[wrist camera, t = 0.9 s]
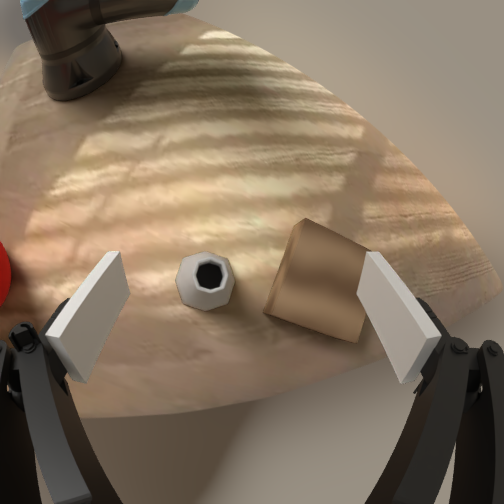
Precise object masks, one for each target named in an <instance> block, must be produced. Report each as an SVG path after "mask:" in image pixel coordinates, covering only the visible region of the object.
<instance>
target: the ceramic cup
mask: <svg viewBox="0 0 504 504" xmlns="http://www.w3.org/2000/svg"><path fill="white" fill-rule="evenodd" d="M10 284H11V268H10V263H9V259H8V256H7V253H6V250H5V248H4V247H3V245H2V243H1V242H0V307H1V306H2V304H3V303H4V301H5V299H6V297H7V294H8V291H9V288H10Z"/></svg>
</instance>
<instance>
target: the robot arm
mask: <svg viewBox="0 0 504 504" xmlns="http://www.w3.org/2000/svg"><path fill="white" fill-rule="evenodd" d="M198 1H199V0H21V1H20V4H21V8H22V13H23V19H24V20H25V22H26V24H27V27H28V29H29V31H30V34H31V36H32V39H33V41H34V43H35V45H36V48H37V50H38V52H39V54H40V56H41V59H42V74H43V85H44V88H45V90H46V92H47V93H48V95H49V96H50V97H51V98H53V99H55V100H71V99H75V98H78V97H81V96H83V95H86V94H88V93H90V92H92V91H93V90H95V89H97V88H98V87H100V86H101V85H103V84H104V83H105V82H106V81H108V80H109V79H110V78H111V77H112V76H113V75H114V73H115V72H116V71H117V69H118V68H119V66H120V63H121V59H122V56H121V51H120V47H119V44H118V43H117V41H116V40H115V39H114V37H113V36H112V35H111V33H110V32H109V31H108V29H107V28H106V26H105V24H107V23H112V22H117V21H123V20H129V19H136V18H144V17H153V16H167V15H169V14H178V13H185V12H188V11H190V10H192V9H193V8H194V7H195V6H196V5H197V3H198ZM129 295H130V291H129V287H128V283H127V279H126V275H125V271H124V267H123V263H122V259H121V254H120V251H108V252H107V253H106V254H105V256H104V257H103V258H102V259H101V260H100V262H99V263H98V264H97V265H96V266H95V268H94V269H93V270H92V271H91V273H90V274H89V275H88V276H87V278H86V279H85V280H84V281H83V283H82V284H81V285H80V287H79V288H78V289H77V291H76V292H75V293H74V295H73V296H72V297H71V298H67V299H66V300H65V301H64V302H62V303H61V304H60V305H59V306H58V308H57V309H56V311H55V313H53V315H52V316H51V318H50V319H49V320H48V322H47V323H46V325H45V326H44V327H43V329H42V330H41V332H40V333H39V335H38V334H37V332H36V331H35V329H34V327H33V325H32V324H31V323H30V322H22V323H19V324H17V325H16V326H15V327H14V328H12V330H11V331H10V333H9V339H10V341H11V342H12V344H13V346H14V347H15V348H11V349H9V347H8V345H7V344H6V342H5V341H3V340H0V504H42V502H41V497H40V491H39V486H38V480H37V472H36V463H35V453H36V456H37V460H38V463H39V466H40V469H41V472H42V475H43V477H44V480H45V482H46V485H47V488H48V490H49V493H50V495H51V497H52V500H53V502H54V504H123V503H122V502H121V500H120V498H119V497H118V495H117V493H116V492H115V490H114V488H113V487H112V485H111V483H110V481H109V480H108V478H107V476H106V474H105V472H104V470H103V469H102V467H101V465H100V463H99V461H98V459H97V457H96V455H95V453H94V451H93V449H92V447H91V444H90V442H89V440H88V437H87V435H86V433H85V430H84V428H83V426H82V423H81V421H80V418H79V415H78V413H77V410H76V407H75V404H74V402H73V399H72V396H71V393H70V390H69V386H68V383H67V381H66V380H65V378H64V377H65V375H66V373H67V372H68V374H69V375H70V377H71V378H72V380H74V381H78V382H82V383H87V381H88V379H89V376H90V374H91V372H92V370H93V367H94V365H95V363H96V361H97V359H98V356H99V354H100V352H101V350H102V348H103V346H104V344H105V342H106V340H107V337H108V335H109V333H110V331H111V329H112V327H113V325H114V323H115V321H116V319H117V318H118V316H119V314H120V312H121V310H122V308H123V306H124V304H125V302H126V300H127V299H128V297H129ZM357 296H358V297H359V299H360V301H361V303H362V305H363V307H364V309H365V311H366V313H367V315H368V317H369V319H370V321H371V323H372V325H373V327H374V329H375V331H376V333H377V335H378V337H379V339H380V341H381V343H382V345H383V347H384V349H385V351H386V353H387V356H388V358H389V360H390V362H391V364H392V366H393V368H394V371H395V373H396V375H397V377H398V380H399V382H400V384H404V383H407V382H411V381H415V379H416V378H417V376H418V375H419V373H420V372H421V374H422V376H423V379H422V381H421V382H420V384H419V385H418V387H417V388H416V389H415V391H414V392H413V393H414V394H415V393H416V392H417V394H416V397H415V400H414V403H413V406H412V408H411V411H410V414H409V416H408V419H407V421H406V424H405V426H404V429H403V431H402V434H401V436H400V438H399V440H398V442H397V445H396V447H395V449H394V451H393V453H392V455H391V457H390V460H389V461H388V463H387V465H386V467H385V469H384V471H383V473H382V475H381V477H380V478H379V480H378V482H377V484H376V486H375V487H374V489H373V491H372V492H371V494H370V496H369V497H368V499H367V500H366V502H365V504H434V502H435V500H436V497H437V495H438V493H439V490H440V488H441V485H442V482H443V480H444V477H445V474H446V471H447V468H448V465H449V462H450V459H451V456H452V453H453V449H454V446H455V442H456V450H455V463H454V474H453V482H452V488H451V495H450V500H449V504H504V353H503V350H502V348H501V347H500V346H499V345H498V343H496V342H494V341H492V340H486V341H484V343H483V344H482V346H481V347H480V349H479V348H469V346H468V345H467V343H466V342H464V341H463V340H461V339H460V338H456V337H451V336H450V335H449V333H448V332H447V330H446V329H445V327H444V326H443V325H442V323H441V322H440V320H439V319H438V318H437V316H436V315H435V313H434V312H433V311H432V309H431V308H430V307H429V305H428V304H427V303H426V302H424V301H423V300H422V299H420V298H415V297H414V296H413V294H412V293H411V292H410V290H409V289H408V288H407V286H406V285H405V284H404V282H403V281H402V280H401V279H400V277H399V276H398V275H397V273H396V272H395V271H394V270H393V268H392V267H391V266H390V265H389V263H388V262H387V261H386V260H385V259H384V257H383V256H382V255H381V254H380V253H379V252H366V256H365V261H364V265H363V269H362V274H361V278H360V282H359V286H358V290H357ZM7 385H8V386H9V392H8V391H7ZM481 386H482V388H483V389H482V392H481ZM34 450H35V453H34Z"/></svg>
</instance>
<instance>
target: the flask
mask: <svg viewBox="0 0 504 504" xmlns="http://www.w3.org/2000/svg"><path fill="white" fill-rule="evenodd" d="M175 282H176V285H177V288H178V291H179V294H180V297H181V300H182V303H183V304H185V305H188V306H191V307H194V308H197V309H200V310H203V311H208V310H211V309H214V308H217V307H220V306H223V305H225V304H228V302H229V299H230V296H231V293H232V289H233V286H234V283H235V279H234V276H233V273H232V270H231V267H230V264H229V261H228V259H227V258H224V257H221V256H218V255H215V254H213V253H210V252H207V251H204V252H200V253H197V254H194V255H191V256H188V257H184V258H183V259H182V262H181V265H180V268H179V270H178V273H177V276H176V279H175Z"/></svg>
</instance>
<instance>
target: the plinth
mask: <svg viewBox="0 0 504 504" xmlns="http://www.w3.org/2000/svg"><path fill="white" fill-rule="evenodd" d="M366 252H372V251H371V250H369V249H367V248H365V247H363V246H361V245H359V244H357V243H355V242H353V241H351V240H349V239H347V238H345V237H343V236H341V235H339V234H337V233H335V232H333V231H331V230H329V229H327V228H325V227H323V226H321V225H319V224H317V223H315V222H313V221H311V220H309V219H307V218H305V219H303V220H302V221H300V222H299V223H298V224H296V225H295V226H294V227H293V230H292V233H291V236H290V239H289V242H288V244H287V247H286V250H285V253H284V256H283V259H282V261H281V264H280V267H279V270H278V273H277V275H276V278H275V281H274V284H273V286H272V289H271V292H270V295H269V297H268V300H267V303H266V305H265V308H264V311H263V313H265V314H268V315H271V316H273V317H276V318H279V319H282V320H284V321H287V322H290V323H293V324H296V325H299V326H301V327H304V328H307V329H310V330H313V331H316V332H319V333H322V334H325V335H328V336H331V337H334V338H337V339H340V340H344V341H348V342H352V343H356V344H357V341H358V339H359V335H360V332H361V329H362V326H363V323H364V320H365V317H366V311H365V309H364V307H363V305H362V303H361V301H360V299H359V297H358V296H357V290H358V286H359V282H360V278H361V274H362V269H363V265H364V261H365V256H366Z"/></svg>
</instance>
